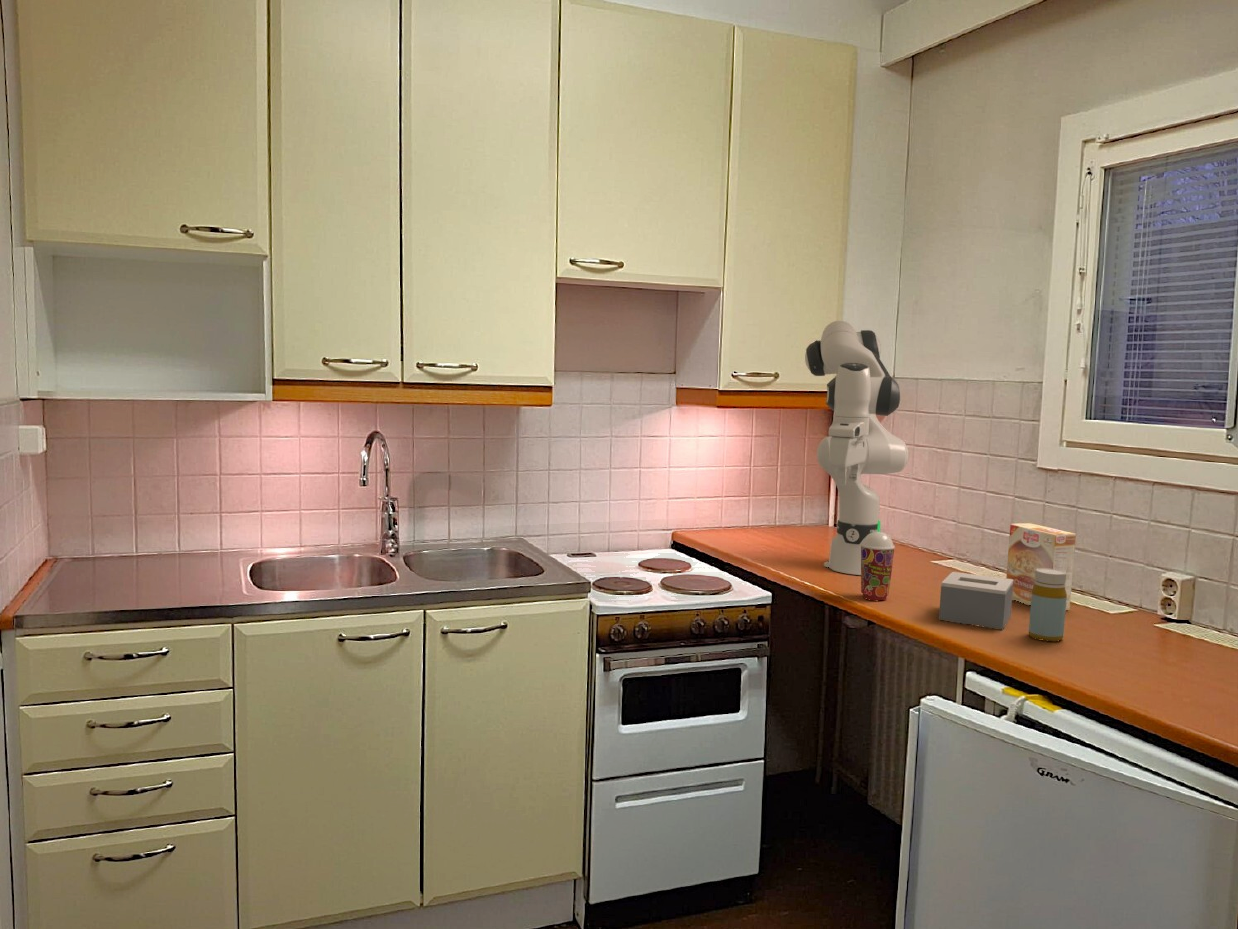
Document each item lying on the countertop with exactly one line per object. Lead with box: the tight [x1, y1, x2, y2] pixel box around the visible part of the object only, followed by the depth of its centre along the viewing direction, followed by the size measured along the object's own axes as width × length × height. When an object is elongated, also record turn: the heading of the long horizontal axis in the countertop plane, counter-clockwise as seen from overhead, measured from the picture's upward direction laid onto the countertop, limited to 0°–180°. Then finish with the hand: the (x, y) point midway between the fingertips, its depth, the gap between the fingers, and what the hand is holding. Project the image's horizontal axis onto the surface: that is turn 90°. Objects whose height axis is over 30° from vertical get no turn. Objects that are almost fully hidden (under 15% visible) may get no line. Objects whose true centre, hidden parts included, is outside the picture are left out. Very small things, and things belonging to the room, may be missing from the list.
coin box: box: [938, 571, 1013, 630], centre depth 224 cm, size 14×14×9 cm
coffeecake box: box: [1005, 522, 1077, 611], centre depth 239 cm, size 15×7×20 cm, turn 21°
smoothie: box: [860, 520, 896, 601], centre depth 240 cm, size 8×8×20 cm
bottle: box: [1028, 568, 1067, 642], centre depth 209 cm, size 7×7×15 cm
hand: (847, 482), depth 240 cm, fingers open, 8 cm apart
